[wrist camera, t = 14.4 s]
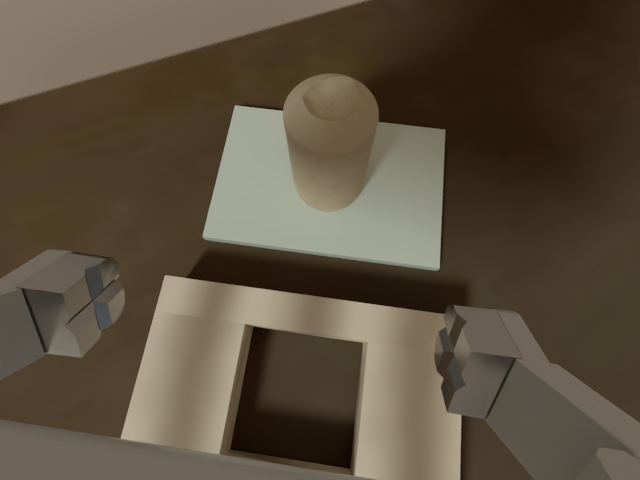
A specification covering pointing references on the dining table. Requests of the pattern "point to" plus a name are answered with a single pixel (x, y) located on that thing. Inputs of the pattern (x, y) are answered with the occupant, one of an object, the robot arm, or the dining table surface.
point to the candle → (330, 138)
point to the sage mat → (331, 226)
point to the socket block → (305, 318)
